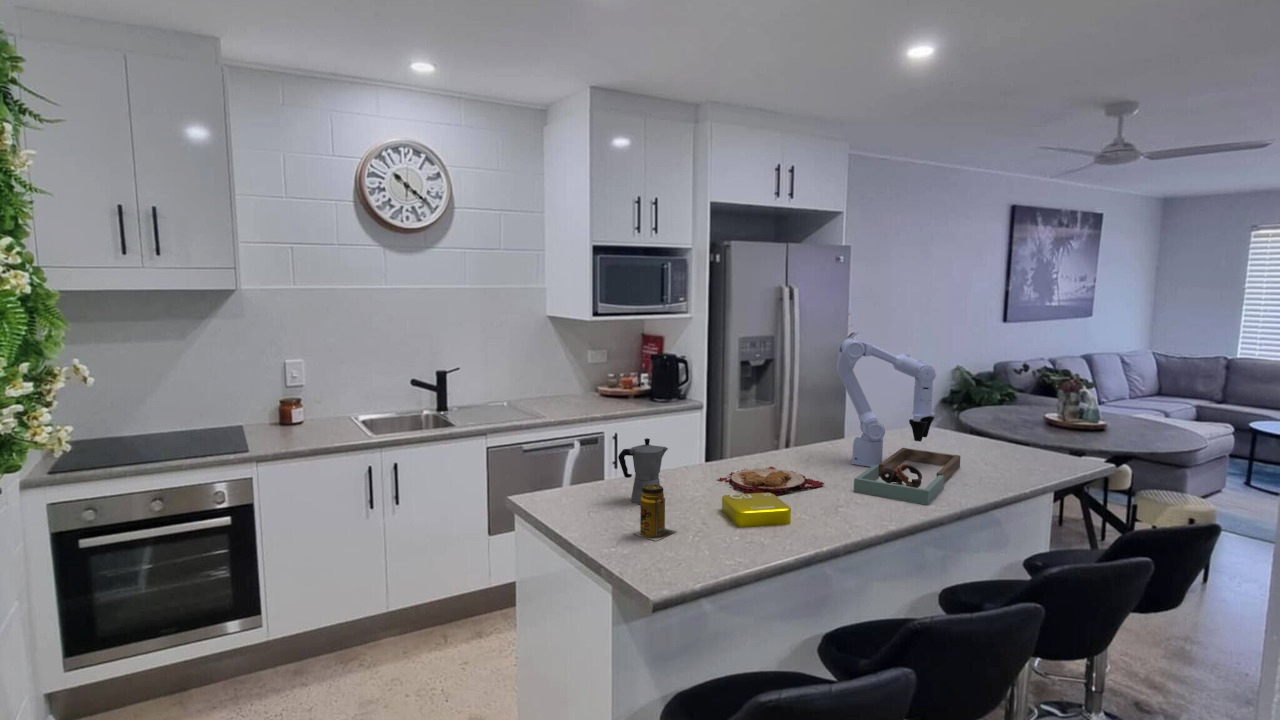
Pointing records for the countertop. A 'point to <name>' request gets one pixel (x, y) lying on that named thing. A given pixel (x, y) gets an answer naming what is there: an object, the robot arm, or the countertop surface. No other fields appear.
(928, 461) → the brown wooden frame
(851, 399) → the robot arm
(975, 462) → the countertop surface
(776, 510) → the element tile
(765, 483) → the plate with food
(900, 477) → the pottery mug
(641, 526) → the condiment
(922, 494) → the frame
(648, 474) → the coffeepot
